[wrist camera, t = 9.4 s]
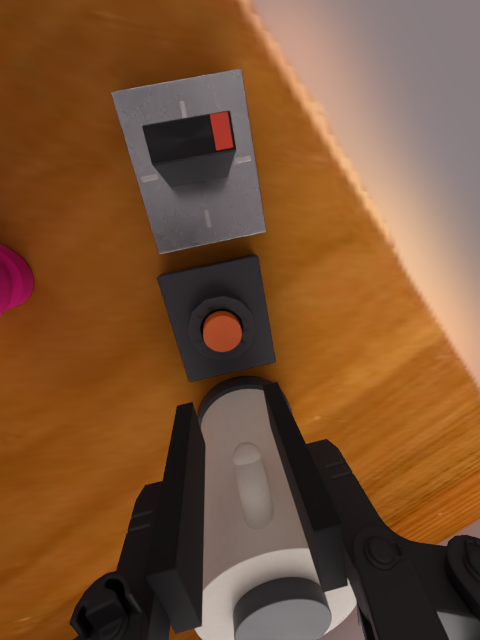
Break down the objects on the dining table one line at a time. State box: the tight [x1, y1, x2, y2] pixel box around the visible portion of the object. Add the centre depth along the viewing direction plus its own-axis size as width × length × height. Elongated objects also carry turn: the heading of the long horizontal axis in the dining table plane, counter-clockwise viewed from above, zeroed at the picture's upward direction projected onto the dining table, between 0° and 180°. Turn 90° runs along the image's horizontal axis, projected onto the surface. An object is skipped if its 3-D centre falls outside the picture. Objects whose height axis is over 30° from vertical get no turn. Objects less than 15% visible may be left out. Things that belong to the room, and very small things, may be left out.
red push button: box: [203, 311, 242, 352], centre depth 24 cm, size 4×4×2 cm
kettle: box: [195, 376, 357, 640], centre depth 24 cm, size 17×12×19 cm
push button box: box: [157, 254, 276, 382], centre depth 26 cm, size 12×10×4 cm
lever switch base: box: [111, 69, 266, 254], centre depth 22 cm, size 12×10×3 cm
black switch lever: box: [142, 110, 236, 187], centre depth 17 cm, size 5×2×7 cm, turn 101°
